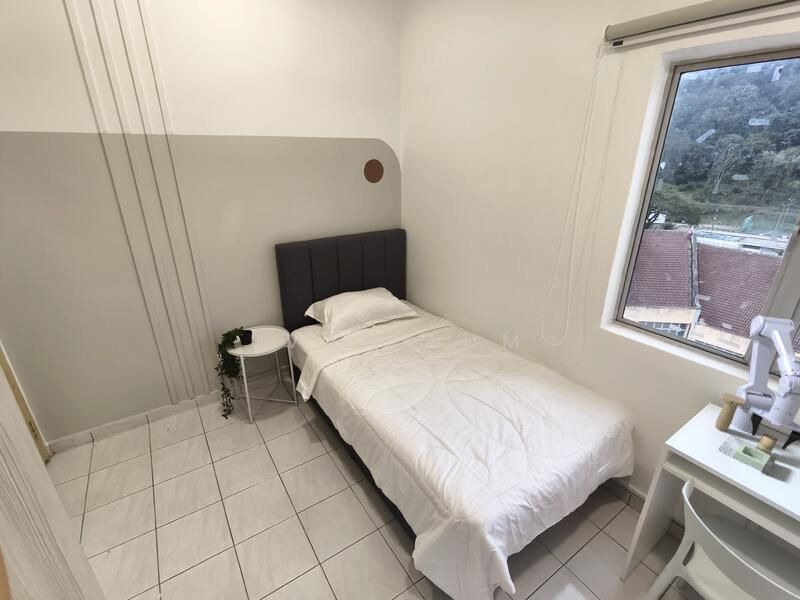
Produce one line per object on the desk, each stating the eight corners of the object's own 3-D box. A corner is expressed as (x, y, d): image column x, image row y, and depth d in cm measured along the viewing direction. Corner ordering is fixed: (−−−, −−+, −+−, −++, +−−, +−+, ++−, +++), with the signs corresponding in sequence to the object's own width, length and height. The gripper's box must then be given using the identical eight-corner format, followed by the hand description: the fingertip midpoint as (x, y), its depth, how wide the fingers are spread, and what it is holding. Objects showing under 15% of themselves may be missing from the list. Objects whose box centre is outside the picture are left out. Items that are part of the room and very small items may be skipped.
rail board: (729, 436, 136) (734, 425, 134) (776, 458, 126) (782, 447, 125) (716, 452, 129) (721, 441, 127) (765, 477, 119) (771, 466, 117)
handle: (729, 438, 135) (744, 405, 129) (707, 429, 139) (721, 396, 134) (731, 432, 138) (746, 399, 132) (710, 423, 143) (724, 391, 137)
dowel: (756, 447, 130) (764, 432, 127) (770, 454, 127) (778, 438, 124) (753, 452, 128) (761, 436, 125) (767, 458, 125) (775, 442, 122)
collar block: (740, 447, 130) (742, 442, 129) (767, 461, 124) (770, 455, 123) (733, 456, 126) (735, 451, 125) (761, 471, 120) (764, 465, 119)
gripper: (752, 401, 123) (737, 433, 129) (814, 426, 113) (795, 459, 118) (758, 394, 127) (743, 425, 132) (818, 417, 116) (800, 450, 122)
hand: (768, 440), depth 125 cm, fingers open, 7 cm apart
